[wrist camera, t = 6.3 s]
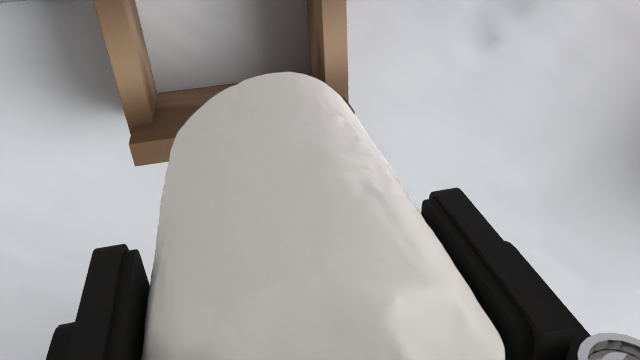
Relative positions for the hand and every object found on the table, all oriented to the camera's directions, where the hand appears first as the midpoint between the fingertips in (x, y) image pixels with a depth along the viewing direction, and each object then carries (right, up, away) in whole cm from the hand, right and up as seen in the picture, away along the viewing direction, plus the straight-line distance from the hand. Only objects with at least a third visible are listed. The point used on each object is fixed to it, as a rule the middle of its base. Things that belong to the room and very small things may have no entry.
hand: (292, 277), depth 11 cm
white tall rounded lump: (-1, +2, +4) cm, 5 cm away
